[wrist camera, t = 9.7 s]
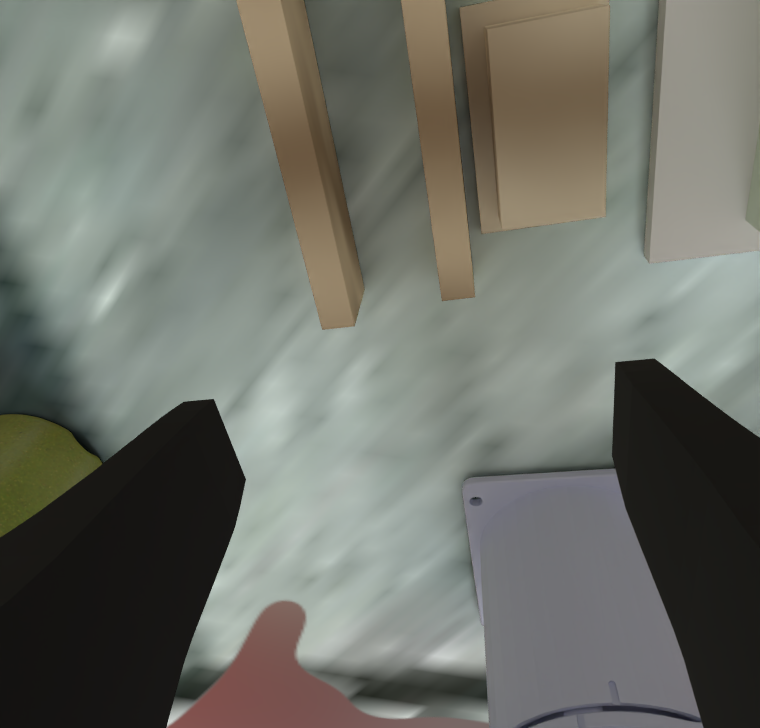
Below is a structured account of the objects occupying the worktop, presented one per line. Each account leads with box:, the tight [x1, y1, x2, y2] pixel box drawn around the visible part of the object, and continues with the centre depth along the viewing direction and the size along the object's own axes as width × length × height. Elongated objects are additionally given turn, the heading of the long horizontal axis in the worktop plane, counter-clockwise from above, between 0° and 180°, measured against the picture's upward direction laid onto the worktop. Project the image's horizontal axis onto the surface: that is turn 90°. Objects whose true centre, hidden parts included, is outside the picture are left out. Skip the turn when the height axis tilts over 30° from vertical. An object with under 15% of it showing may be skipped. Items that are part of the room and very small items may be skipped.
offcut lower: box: [459, 0, 609, 234], centre depth 17 cm, size 6×4×1 cm, turn 11°
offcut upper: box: [484, 4, 610, 230], centre depth 16 cm, size 5×3×1 cm, turn 10°
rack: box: [236, 0, 475, 330], centre depth 16 cm, size 9×5×2 cm, turn 10°
